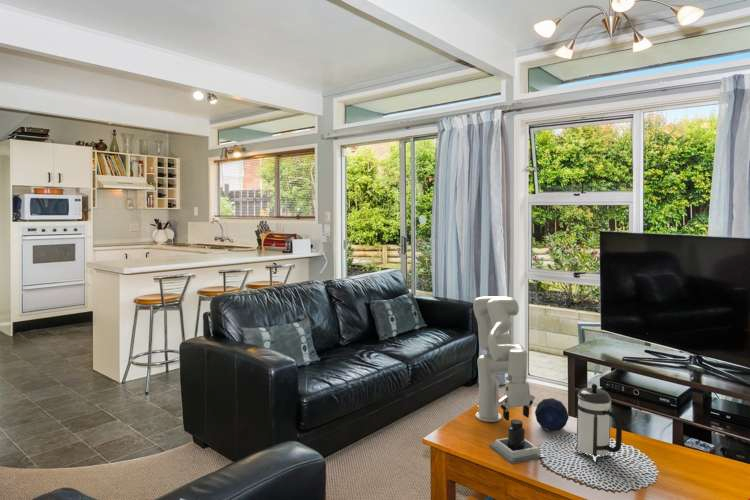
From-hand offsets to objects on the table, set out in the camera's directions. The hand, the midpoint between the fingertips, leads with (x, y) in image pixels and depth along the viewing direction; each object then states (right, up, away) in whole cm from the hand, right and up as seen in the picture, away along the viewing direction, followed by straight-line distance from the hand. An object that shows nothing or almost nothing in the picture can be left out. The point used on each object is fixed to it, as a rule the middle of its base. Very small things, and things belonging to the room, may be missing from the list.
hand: (516, 417), depth 210 cm
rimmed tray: (0, -14, 0) cm, 14 cm away
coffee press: (+32, -15, -4) cm, 35 cm away
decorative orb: (+23, -13, +23) cm, 35 cm away
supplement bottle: (0, -14, 0) cm, 14 cm away
